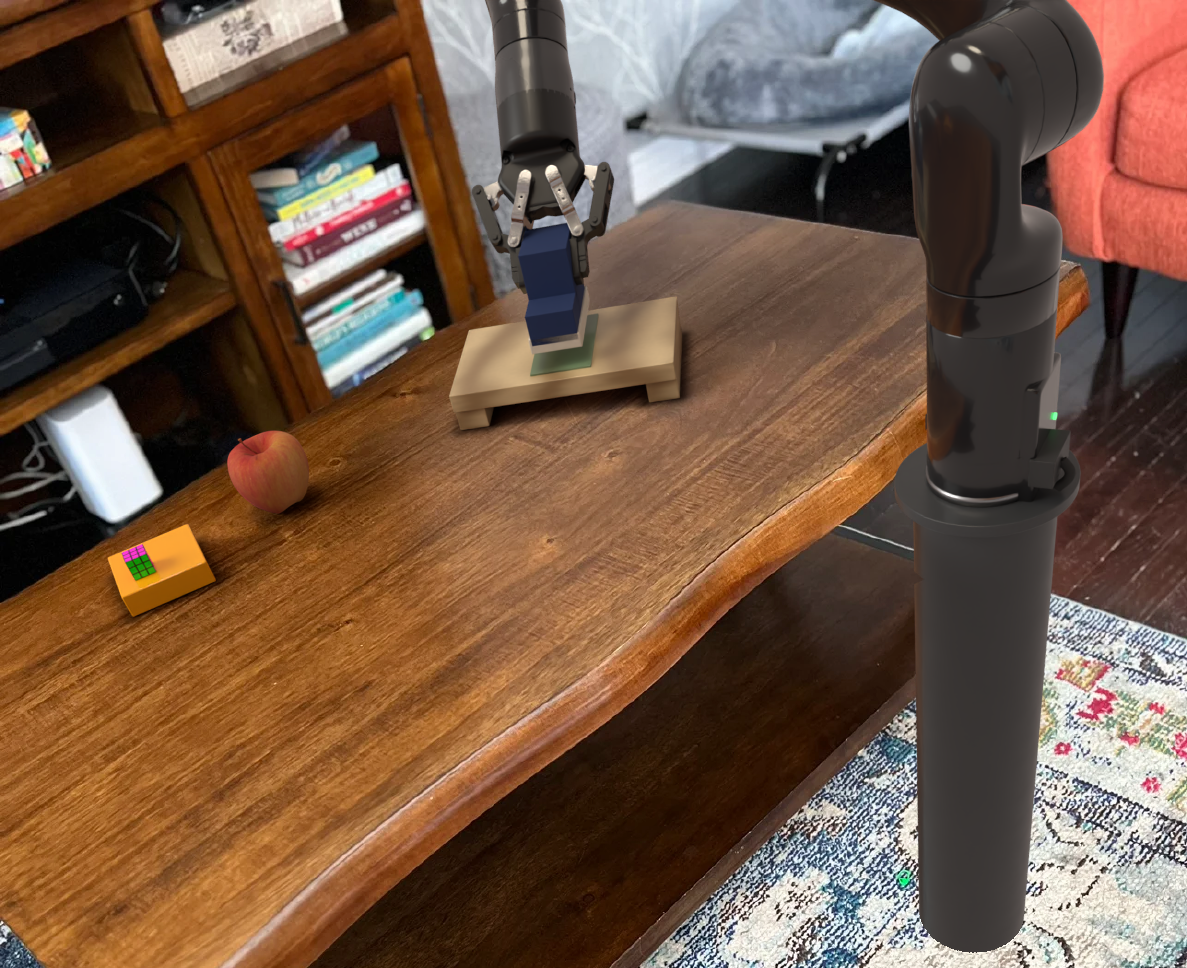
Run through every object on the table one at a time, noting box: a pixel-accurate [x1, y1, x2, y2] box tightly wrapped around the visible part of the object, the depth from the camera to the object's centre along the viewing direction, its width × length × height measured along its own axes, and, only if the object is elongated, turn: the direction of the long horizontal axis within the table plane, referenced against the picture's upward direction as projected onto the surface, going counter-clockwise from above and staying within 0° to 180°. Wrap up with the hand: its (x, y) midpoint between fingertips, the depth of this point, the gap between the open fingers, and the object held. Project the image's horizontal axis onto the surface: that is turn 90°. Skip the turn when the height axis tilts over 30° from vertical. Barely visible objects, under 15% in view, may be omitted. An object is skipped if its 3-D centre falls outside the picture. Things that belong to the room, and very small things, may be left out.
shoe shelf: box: [448, 296, 683, 431], centre depth 123 cm, size 22×14×4 cm, turn 86°
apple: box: [227, 430, 310, 515], centre depth 116 cm, size 7×7×8 cm
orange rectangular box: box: [107, 523, 217, 618], centre depth 112 cm, size 8×8×4 cm
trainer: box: [518, 222, 591, 354], centre depth 118 cm, size 10×5×8 cm, turn 176°
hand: (552, 285), depth 117 cm, fingers closed on trainer, 4 cm apart
